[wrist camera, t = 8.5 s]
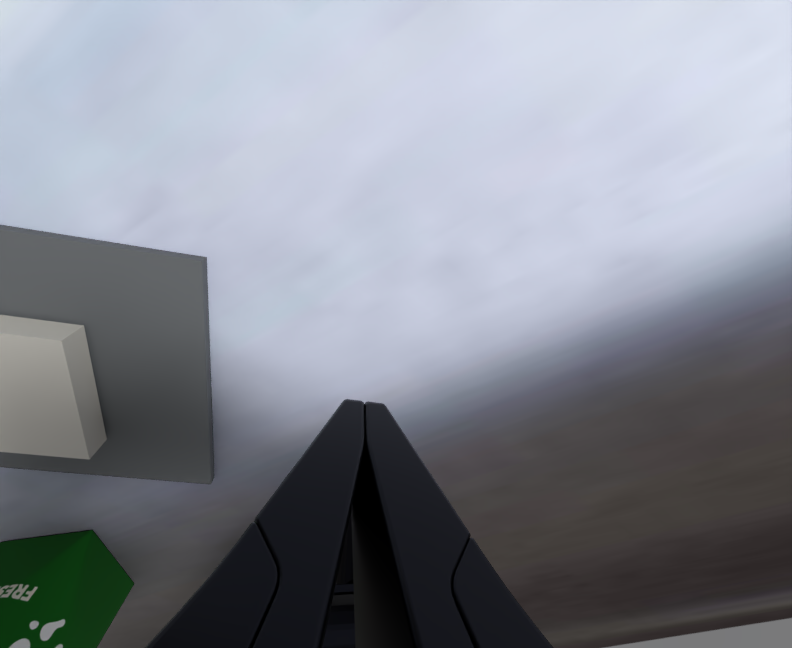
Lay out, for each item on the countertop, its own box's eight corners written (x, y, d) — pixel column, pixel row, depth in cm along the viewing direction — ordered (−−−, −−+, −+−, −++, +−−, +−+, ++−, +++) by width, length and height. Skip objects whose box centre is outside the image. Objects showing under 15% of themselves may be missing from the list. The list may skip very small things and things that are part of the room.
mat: (214, 477, 26) (211, 484, 26) (-120, 448, 24) (-132, 456, 23) (206, 257, 19) (201, 260, 19) (-271, 182, 17) (-292, 183, 16)
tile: (89, 459, 22) (-69, 445, 21) (108, 437, 24) (-38, 423, 22) (61, 340, 18) (-131, 316, 17) (86, 323, 20) (-89, 300, 19)
